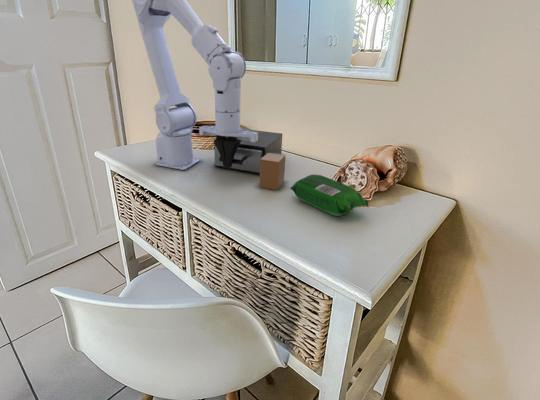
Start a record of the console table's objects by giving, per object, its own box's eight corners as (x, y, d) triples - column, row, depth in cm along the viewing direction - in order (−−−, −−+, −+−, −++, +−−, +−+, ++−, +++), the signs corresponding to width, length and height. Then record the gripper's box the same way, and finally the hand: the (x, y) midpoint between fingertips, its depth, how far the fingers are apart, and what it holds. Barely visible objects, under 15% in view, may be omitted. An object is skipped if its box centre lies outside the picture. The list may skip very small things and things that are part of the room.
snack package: (345, 227, 62) (349, 202, 60) (287, 196, 74) (288, 175, 71) (368, 216, 66) (373, 192, 64) (309, 189, 77) (311, 168, 75)
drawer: (254, 179, 81) (254, 156, 78) (207, 170, 86) (206, 149, 83) (276, 157, 94) (277, 138, 91) (234, 151, 99) (234, 132, 97)
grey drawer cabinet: (264, 174, 85) (265, 147, 82) (215, 166, 91) (214, 140, 87) (281, 158, 96) (282, 133, 92) (236, 151, 102) (235, 128, 98)
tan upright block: (259, 187, 79) (260, 159, 75) (266, 179, 83) (268, 152, 79) (277, 190, 77) (278, 162, 74) (283, 182, 81) (285, 155, 78)
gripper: (263, 110, 76) (261, 166, 82) (209, 105, 82) (210, 157, 88) (251, 115, 70) (249, 175, 76) (193, 109, 76) (196, 165, 82)
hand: (227, 166), depth 81 cm, fingers closed, pressing on drawer
